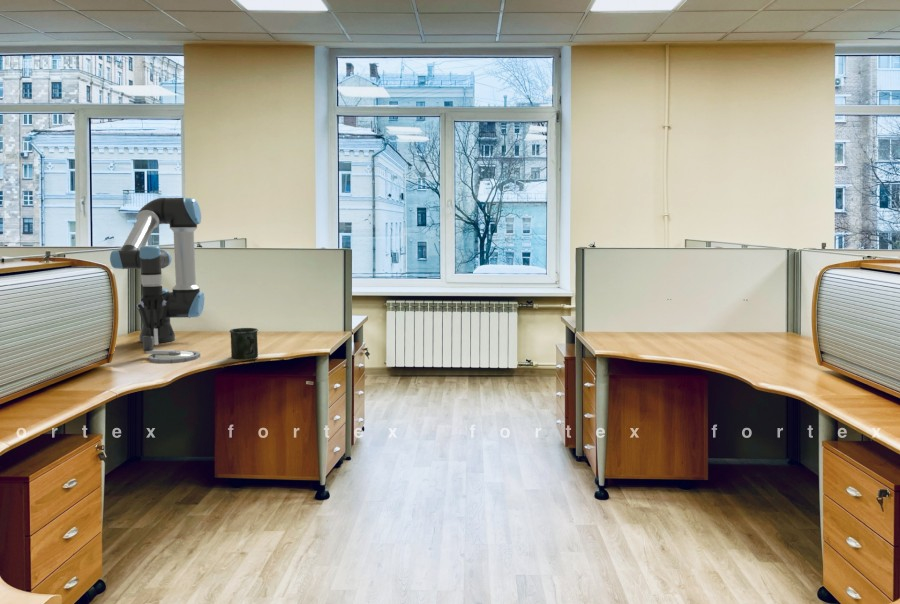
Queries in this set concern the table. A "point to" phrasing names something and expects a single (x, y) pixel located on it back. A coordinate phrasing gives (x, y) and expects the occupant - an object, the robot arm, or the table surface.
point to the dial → (162, 353)
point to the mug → (244, 344)
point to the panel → (153, 359)
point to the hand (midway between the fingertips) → (155, 344)
